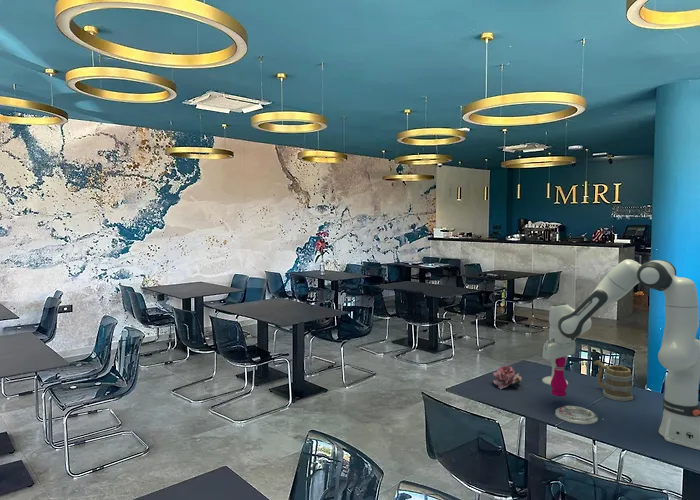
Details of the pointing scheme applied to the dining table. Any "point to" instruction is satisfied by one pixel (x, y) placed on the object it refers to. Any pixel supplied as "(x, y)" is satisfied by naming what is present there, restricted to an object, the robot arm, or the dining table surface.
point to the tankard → (615, 382)
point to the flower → (506, 377)
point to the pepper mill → (559, 378)
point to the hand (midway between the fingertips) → (558, 366)
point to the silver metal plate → (576, 415)
